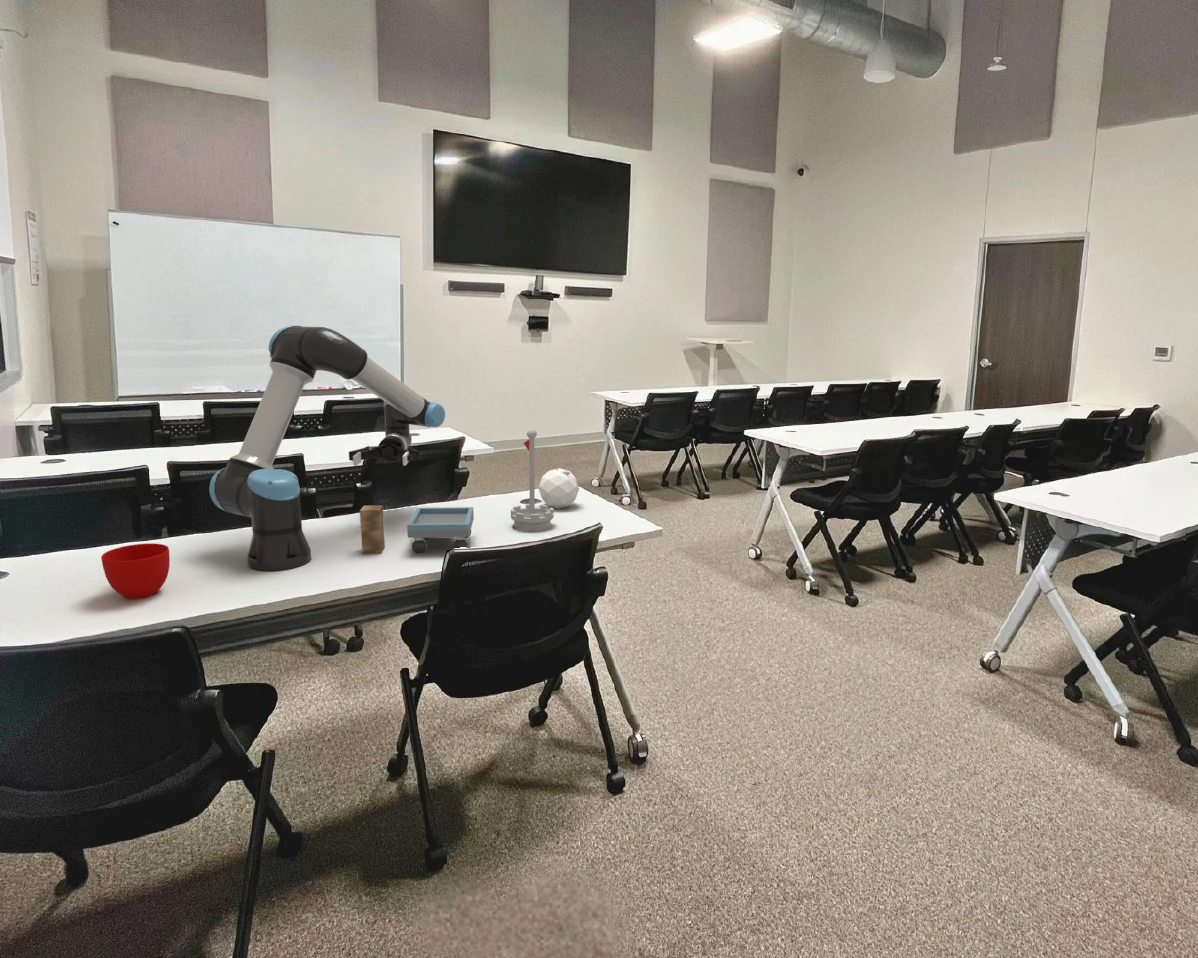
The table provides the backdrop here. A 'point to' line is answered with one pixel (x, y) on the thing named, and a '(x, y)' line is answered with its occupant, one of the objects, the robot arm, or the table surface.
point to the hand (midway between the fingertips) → (379, 461)
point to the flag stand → (532, 500)
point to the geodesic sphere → (558, 488)
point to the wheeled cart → (440, 525)
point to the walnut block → (372, 529)
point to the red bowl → (137, 569)
